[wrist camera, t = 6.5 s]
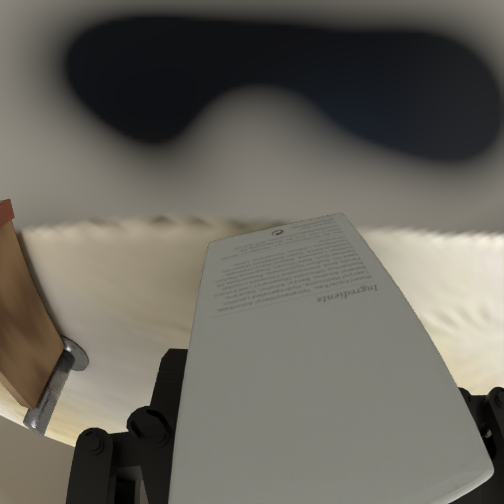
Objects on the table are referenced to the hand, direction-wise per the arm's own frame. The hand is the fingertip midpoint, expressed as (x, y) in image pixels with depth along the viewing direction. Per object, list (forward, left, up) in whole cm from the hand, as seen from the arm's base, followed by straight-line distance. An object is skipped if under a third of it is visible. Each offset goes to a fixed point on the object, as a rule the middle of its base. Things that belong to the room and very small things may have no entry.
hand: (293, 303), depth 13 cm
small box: (0, 0, 0) cm, 0 cm away
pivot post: (-19, -10, -4) cm, 22 cm away
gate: (-19, -2, -4) cm, 20 cm away
